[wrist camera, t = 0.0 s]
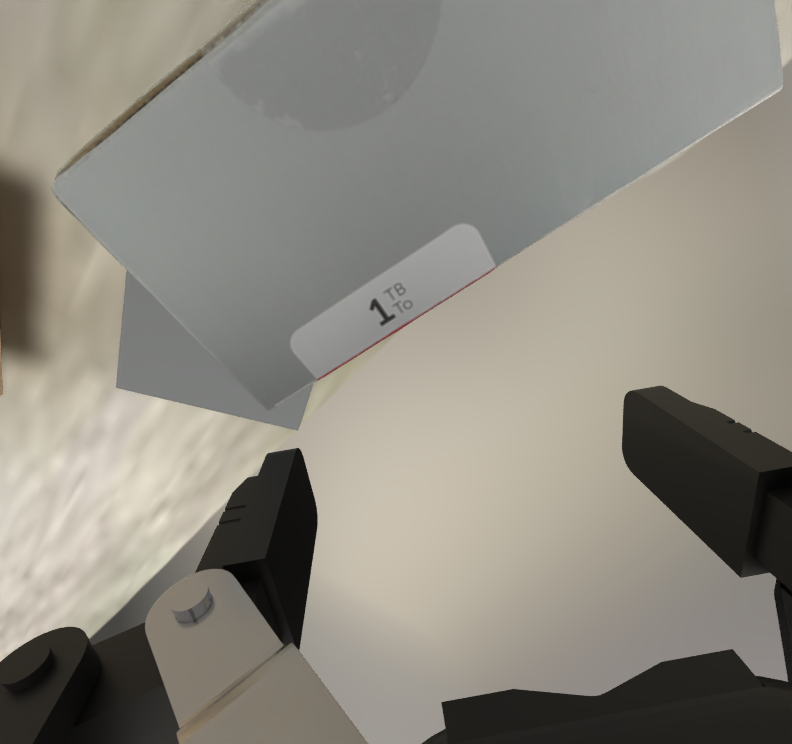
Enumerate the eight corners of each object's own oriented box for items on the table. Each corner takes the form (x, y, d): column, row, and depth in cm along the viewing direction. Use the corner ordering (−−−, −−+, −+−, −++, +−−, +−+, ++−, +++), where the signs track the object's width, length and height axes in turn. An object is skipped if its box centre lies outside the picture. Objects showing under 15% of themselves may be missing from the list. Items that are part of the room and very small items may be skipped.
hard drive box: (312, 258, 30) (256, 422, 12) (236, 155, 27) (12, 178, 9) (510, 123, 27) (799, 89, 10) (454, -12, 24) (741, -450, 6)
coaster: (137, 201, 27) (132, 202, 27) (348, 272, 31) (348, 274, 30) (119, 383, 33) (116, 387, 33) (298, 426, 36) (298, 430, 36)
